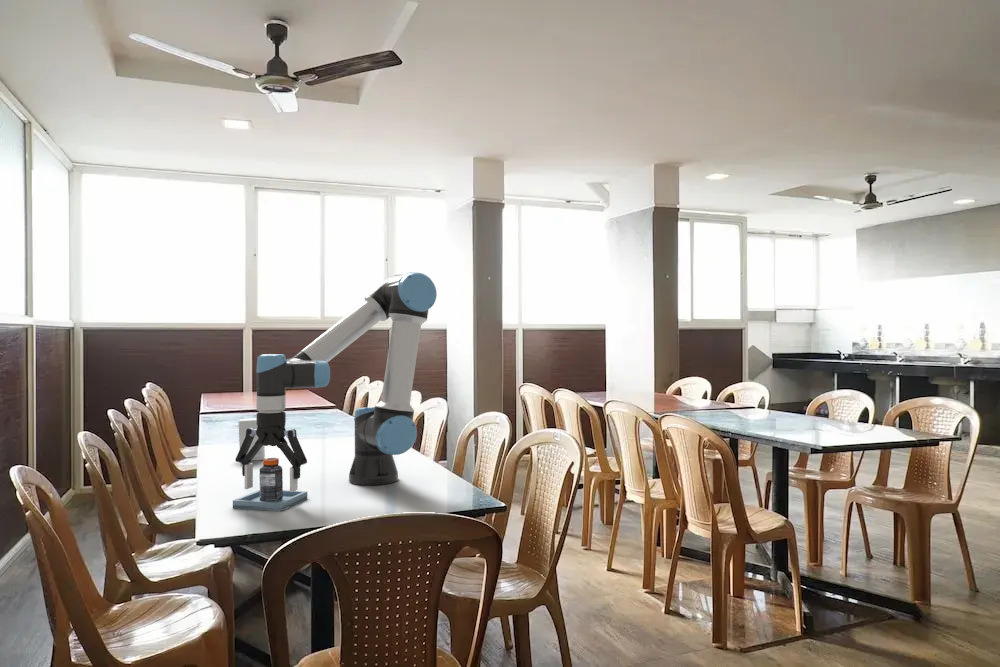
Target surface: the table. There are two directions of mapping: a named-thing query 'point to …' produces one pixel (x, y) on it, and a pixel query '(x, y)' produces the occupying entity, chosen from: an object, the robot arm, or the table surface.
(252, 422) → the skincare box
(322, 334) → the robot arm
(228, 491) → the table surface
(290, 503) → the tray
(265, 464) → the pill bottle
